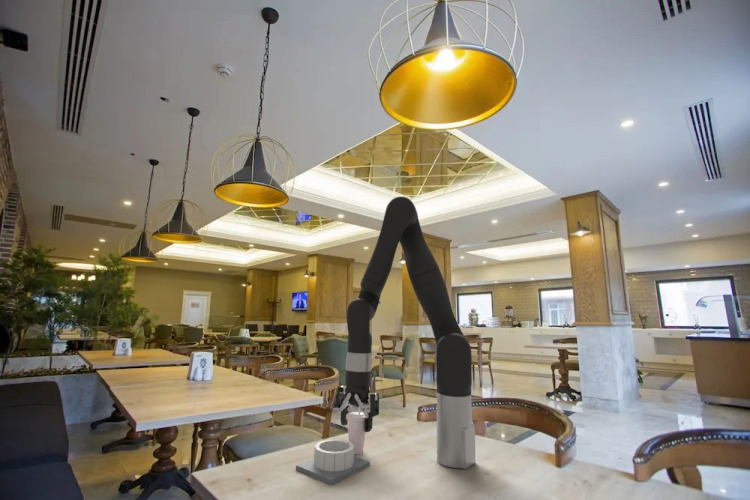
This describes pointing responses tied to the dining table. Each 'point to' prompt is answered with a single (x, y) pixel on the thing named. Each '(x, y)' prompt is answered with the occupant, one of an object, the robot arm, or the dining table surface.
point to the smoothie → (356, 430)
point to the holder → (333, 461)
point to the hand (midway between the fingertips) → (355, 428)
